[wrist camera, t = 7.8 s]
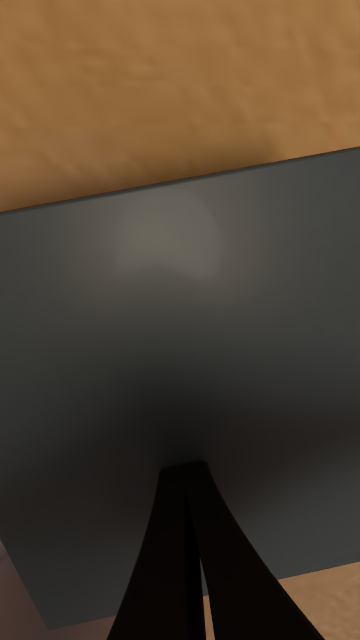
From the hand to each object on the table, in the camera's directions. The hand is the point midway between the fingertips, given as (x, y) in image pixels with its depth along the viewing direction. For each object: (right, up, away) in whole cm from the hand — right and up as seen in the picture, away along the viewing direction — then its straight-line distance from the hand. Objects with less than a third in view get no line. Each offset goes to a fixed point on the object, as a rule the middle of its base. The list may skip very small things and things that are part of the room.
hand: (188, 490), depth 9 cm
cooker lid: (0, +2, 0) cm, 2 cm away
